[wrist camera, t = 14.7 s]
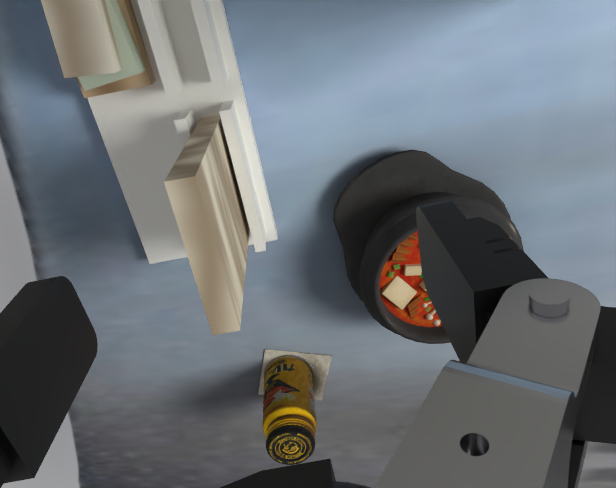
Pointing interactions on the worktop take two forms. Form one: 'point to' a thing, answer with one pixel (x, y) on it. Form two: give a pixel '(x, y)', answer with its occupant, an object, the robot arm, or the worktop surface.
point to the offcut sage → (125, 48)
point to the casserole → (404, 235)
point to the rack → (180, 120)
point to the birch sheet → (211, 222)
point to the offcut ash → (82, 37)
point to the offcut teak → (147, 75)
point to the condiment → (291, 402)
